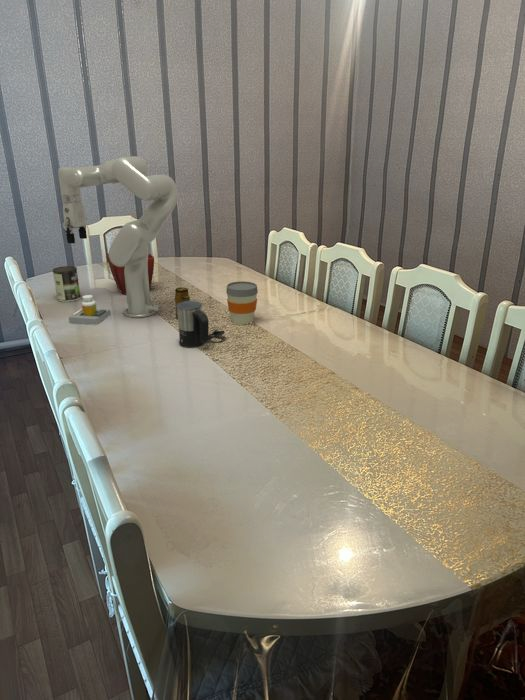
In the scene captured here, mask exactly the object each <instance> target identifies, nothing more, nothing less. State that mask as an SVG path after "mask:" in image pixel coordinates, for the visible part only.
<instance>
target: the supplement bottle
mask: <svg viewBox="0 0 525 700" xmlns="http://www.w3.org/2000/svg"><path fill="white" fill-rule="evenodd" d="M82 300H83V301H82V302H81V309H83V316H94V314H95V313H97V310H96V309H97V304H96V300H94V296H93V294H86V295H82Z"/></svg>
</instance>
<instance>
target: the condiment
mask: <svg viewBox="0 0 525 700" xmlns="http://www.w3.org/2000/svg"><path fill="white" fill-rule="evenodd" d="M174 294H175V295H174V306H175V307H174V308H175V309H174V310H175V314H174V315H173V314H172V315H171V317H173V319H174V318H175V319H176V320H178V313H177V307H176V305H177V304H178V303H181V302H186V301H191V300H190V299H191V298H190V295H189V288H187V287H176V288H175V293H174Z"/></svg>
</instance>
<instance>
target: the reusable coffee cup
mask: <svg viewBox="0 0 525 700" xmlns="http://www.w3.org/2000/svg"><path fill="white" fill-rule="evenodd" d="M258 292H259V291H258V284H256V283H255V282H251V281H244V280H243V281H242V280H241V281H233V282H232V281H231V282H230V283H227V284H226V291H225V294H226V295H227V298H226V301H227V307H228V311H229V314H230V320H231V323H232V322H233V323H232V324H234V323H235V324H234V325H237V324H247V323H251V322H253V323H254V319H255V312H256V310H257V303H258V298H257V296H258ZM251 324H252V323H251Z"/></svg>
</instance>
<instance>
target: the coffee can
mask: <svg viewBox="0 0 525 700" xmlns="http://www.w3.org/2000/svg"><path fill="white" fill-rule="evenodd" d="M77 270H78V269H77V267H76V266H72V265H71V266H70V265H66V266H58V267H55V268H53V269H52V274H53V280H54V283H55V284H54V285H55V291H56V296H57V301H58V302H60V301H62V302H61V303H70V302H69V301H72V302H76V301H75V300H77V301H78V299H79V300H81V298H82V297H81V290H80V284H79V275H78V271H77Z"/></svg>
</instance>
